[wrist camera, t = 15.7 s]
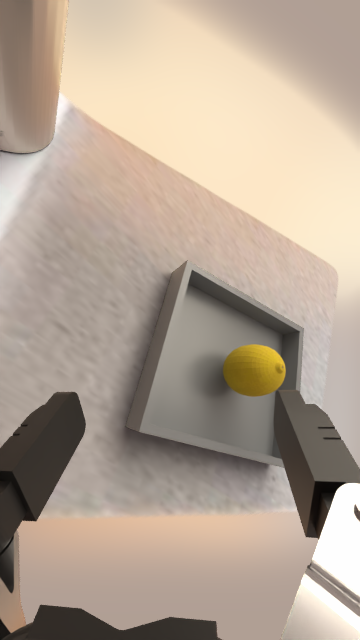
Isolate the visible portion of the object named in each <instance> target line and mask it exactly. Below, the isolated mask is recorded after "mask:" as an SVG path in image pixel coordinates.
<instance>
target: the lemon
mask: <svg viewBox="0 0 360 640" xmlns="http://www.w3.org/2000/svg"><path fill="white" fill-rule="evenodd" d="M285 373H286V369H285V364H284V361H283V359H282V358H281V356H280V355H279V354H278V353H277V352H276V351H275V350H273V349H271V348H270V347H267V346H263V345H257V344H251V345H244V346H241V347H239V348H237V349H235V350H233V351H232V352H231V353H230V354H229V355H228V356H227V357H226V359H225V361H224V365H223V375H224V378H225V381H226V382H227V384H228V385H229V387H230V388H231V389H232V390H234V391H235V392H237V393H239V394H241V395H245V396H250V397H256V396H264V395H267V394H270V393H272V392H274V391H275V390H277V389H278V388H279V387H280V386H281V385H282V383H283V381H284V378H285Z"/></svg>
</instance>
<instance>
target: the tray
mask: <svg viewBox="0 0 360 640" xmlns="http://www.w3.org/2000/svg"><path fill="white" fill-rule="evenodd" d="M303 334H304V328H302V327H301V326H299V325H297V324H295V323H294V322H292V321H290V320H289V319H287V318H285V317H284V316H282V315H280V314H278V313H277V312H275V311H273V310H272V309H270V308H268V307H266V306H265V305H263V304H261V303H260V302H258V301H256V300H255V299H253V298H251V297H249V296H248V295H246V294H244V293H243V292H241V291H239V290H238V289H236V288H234V287H232V286H231V285H229V284H227V283H226V282H224V281H222V280H220V279H219V278H217V277H215V276H214V275H212V274H210V273H209V272H207V271H205V270H203V269H202V268H200V267H198V266H197V265H195V264H193V263H191V262H190V261H188V260H187V261H186V262H185V263H184V264H182V265H181V266H180V267H179V268H177V269H176V270H175V271H174V272H172V275H171V278H170V282H169V285H168V288H167V291H166V295H165V298H164V301H163V305H162V308H161V311H160V314H159V318H158V321H157V324H156V328H155V331H154V334H153V337H152V341H151V344H150V347H149V351H148V354H147V357H146V360H145V364H144V367H143V370H142V374H141V377H140V380H139V383H138V387H137V390H136V393H135V397H134V400H133V403H132V406H131V410H130V413H129V416H128V420H127V423H126V426H125V427H127V428H130V429H133V430H135V431H138V432H141V433H145V434H149V435H154V436H158V437H162V438H166V439H170V440H174V441H178V442H182V443H186V444H190V445H194V446H198V447H202V448H206V449H210V450H214V451H218V452H222V453H226V454H230V455H234V456H239V457H243V458H247V459H251V460H255V461H259V462H263V463H267V464H271V465H275V466H279V467H283V468H285V467H284V464H283V461H282V458H281V454H280V451H279V448H278V444H277V441H276V438H275V433H274V407H275V393H276V390H275V391H274V392H272V393H270V394H267V395H264V396H256V397H250V396H245V395H241V394H239V393H237V392H235V391H234V390H232V389H231V388H230V387H229V385H228V384H227V382H226V381H225V378H224V375H223V365H224V361H225V359H226V357H227V356H228V355H229V354H230V353H231V352H232V351H233V350H235V349H237V348H239V347H241V346H244V345H251V344H257V345H263V346H267V347H270V348H271V349H273V350H275V351H276V352H277V353H278V354H279V355H280V356H281V358H282V359H283V361H284V364H285V369H286V373H285V378H284V381H283V383H282V385H281V386H280V387H279V388H278V389H277V390H298V391H299V392H300V384H301V367H302V351H303Z"/></svg>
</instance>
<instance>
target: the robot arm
mask: <svg viewBox="0 0 360 640" xmlns="http://www.w3.org/2000/svg"><path fill="white" fill-rule="evenodd" d="M68 4H69V0H0V150H4V151H9V152H14V153H31V152H36V151H39V150H41V149H44V148H45V147H46V146H47V145H49V144H50V142H51V141H52V139H53V136H54V132H55V124H56V115H57V106H58V98H59V88H60V79H61V70H62V60H63V51H64V42H65V32H66V23H67V13H68ZM85 426H86V423H85V418H84V414H83V411H82V408H81V404H80V401H79V397H78V395H77V393H76V392H56V393H55V394H54V395H53V396H52V397H51V398H50V399H49V400H48V402H47V403H46V404H45V405H42V406H41V407H39V408H38V409H36V410H35V411H34V412H32V413H31V414H30V415H29V416H28V417H27V418H26V419H25V420H24V422H23V423H22V424H21V427H18V429H17V430H16V431H15V432H14V433H13V436H11V437H10V438H9V439H8V440H7V441H6V442H5V443H4V445H3V446H2V447H1V448H0V640H222V639H220V638H218V637H217V625H216V621H206V620H194V619H184V618H174V617H169V618H165V619H162V620H159V621H155V622H152V623H148V624H145V625H141V626H138V627H134V628H131V629H127V630H118V629H116V628H114V627H112V626H111V625H109V624H107V623H105V622H104V621H101V620H100V619H98V618H96V617H95V616H93V615H91V614H89V613H88V612H86V611H84V610H82V609H78V608H69V607H58V606H47V605H40V607H39V609H38V612H37V614H36V616H35V619H34V621H33V623H30V624H28V625H26V622H25V617H24V613H23V610H22V606H21V600H20V571H19V535H18V532H17V528H18V527H19V525H20V523H21V522H22V521H37V519H38V517H39V516H40V514H41V512H42V510H43V508H44V506H45V505H46V503H47V501H48V499H49V497H50V495H51V494H52V492H53V490H54V488H55V486H56V485H57V483H58V481H59V479H60V477H61V475H62V474H63V472H64V470H65V468H66V466H67V465H68V463H69V461H70V459H71V457H72V455H73V454H74V452H75V450H76V448H77V446H78V445H79V443H80V441H81V439H82V437H83V435H84V432H85ZM274 433H275V438H276V441H277V444H278V448H279V451H280V454H281V458H282V461H283V464H284V467H285V471H286V474H287V477H288V480H289V484H290V487H291V490H292V493H293V497H294V500H295V503H296V506H297V510H298V513H299V516H300V519H301V523H302V526H303V529H304V533H305V536H306V537H312V538H318V539H319V542H318V545H317V547H316V551H315V553H314V556H313V559H312V561H311V564H310V565H309V566H308V567H307V569H306V571H305V573H304V576H303V579H302V581H301V584H300V587H299V589H298V592H297V595H296V598H295V600H294V603H293V606H292V609H291V611H290V614H289V617H288V620H287V622H286V625H285V628H284V631H283V634H282V636H281V639H280V640H360V469H359V467H358V465H357V464H356V462H355V460H354V459H353V457H352V455H351V454H350V452H349V450H348V448H347V447H346V445H345V443H344V442H343V440H341V437H340V435H339V434H338V432H337V430H335V427H334V425H333V423H332V422H331V420H330V418H329V417H328V415H327V414H326V413H325V412H324V411H322V410H321V409H320V408H319V407H318V406H317V405H315V404H305V402H304V400H303V398H302V396H301V394H300V392H299V391H298V390H276V393H275V407H274Z"/></svg>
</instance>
